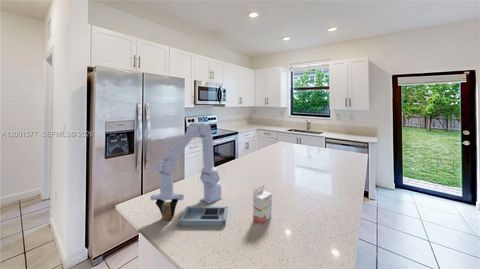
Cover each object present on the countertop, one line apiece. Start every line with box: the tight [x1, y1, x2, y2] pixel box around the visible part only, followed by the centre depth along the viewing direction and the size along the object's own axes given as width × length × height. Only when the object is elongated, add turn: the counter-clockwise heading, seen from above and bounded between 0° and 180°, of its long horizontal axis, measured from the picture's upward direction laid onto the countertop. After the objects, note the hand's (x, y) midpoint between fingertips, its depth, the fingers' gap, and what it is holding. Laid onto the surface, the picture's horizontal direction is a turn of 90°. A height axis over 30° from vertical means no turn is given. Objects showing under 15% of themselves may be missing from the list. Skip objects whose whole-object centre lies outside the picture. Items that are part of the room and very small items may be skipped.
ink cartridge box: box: [252, 184, 273, 225], centre depth 95 cm, size 9×5×15 cm, turn 141°
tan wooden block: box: [161, 201, 175, 222], centre depth 97 cm, size 4×4×7 cm
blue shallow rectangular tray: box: [178, 206, 229, 227], centre depth 97 cm, size 20×13×3 cm, turn 89°
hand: (168, 214), depth 97 cm, fingers closed on tan wooden block, 4 cm apart
